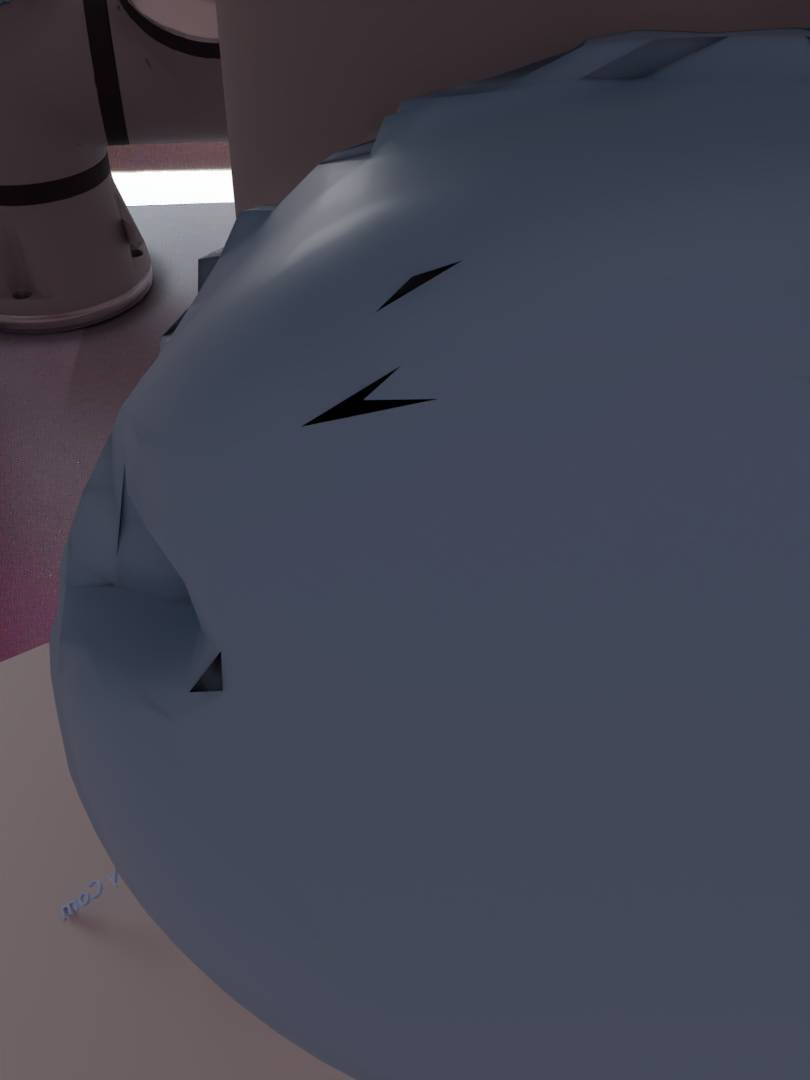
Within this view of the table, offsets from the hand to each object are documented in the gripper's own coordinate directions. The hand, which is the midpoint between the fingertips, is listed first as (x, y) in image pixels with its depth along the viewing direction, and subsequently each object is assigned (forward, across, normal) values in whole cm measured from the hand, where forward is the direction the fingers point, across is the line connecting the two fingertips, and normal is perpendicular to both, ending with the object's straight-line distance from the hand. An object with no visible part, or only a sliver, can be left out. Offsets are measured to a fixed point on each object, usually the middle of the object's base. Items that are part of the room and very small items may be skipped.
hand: (618, 58), depth 35 cm
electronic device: (-19, -9, -29) cm, 35 cm away
